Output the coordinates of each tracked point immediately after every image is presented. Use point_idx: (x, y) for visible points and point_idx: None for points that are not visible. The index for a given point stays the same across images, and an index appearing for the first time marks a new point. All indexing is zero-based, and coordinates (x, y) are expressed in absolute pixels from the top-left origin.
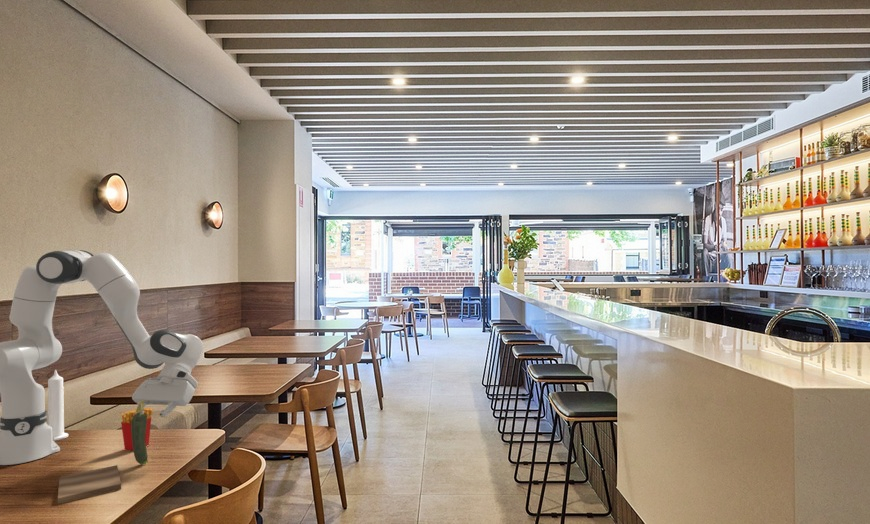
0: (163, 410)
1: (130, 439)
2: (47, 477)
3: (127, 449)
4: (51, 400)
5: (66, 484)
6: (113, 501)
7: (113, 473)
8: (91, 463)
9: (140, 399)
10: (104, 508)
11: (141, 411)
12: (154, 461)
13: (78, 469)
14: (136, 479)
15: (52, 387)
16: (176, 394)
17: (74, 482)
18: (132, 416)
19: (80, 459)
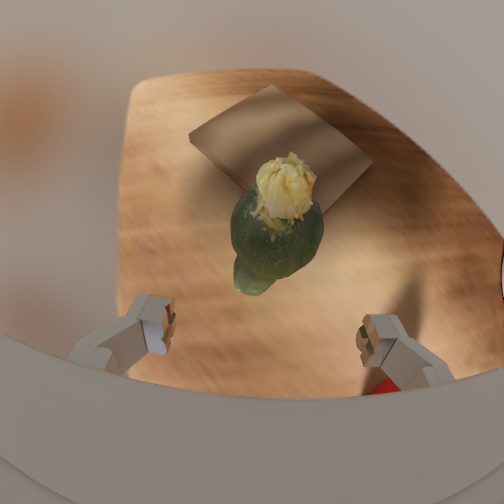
0: (145, 314)
1: (398, 389)
2: (417, 193)
3: (389, 381)
4: None
5: (318, 127)
6: (170, 106)
7: None
8: (407, 277)
9: (453, 380)
10: (169, 90)
11: (257, 183)
12: (229, 316)
13: (402, 237)
14: (189, 188)
15: None
16: (12, 397)
17: (310, 134)
18: None
19: (448, 297)
